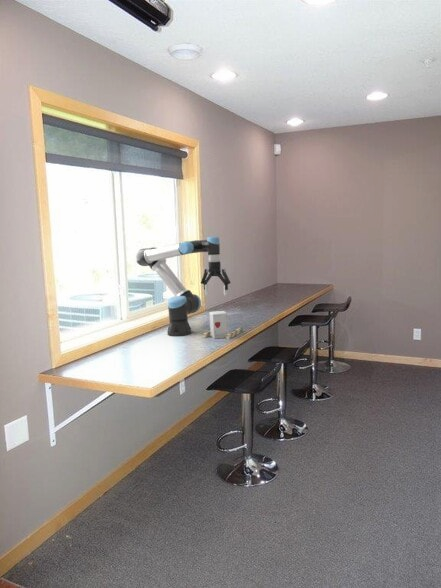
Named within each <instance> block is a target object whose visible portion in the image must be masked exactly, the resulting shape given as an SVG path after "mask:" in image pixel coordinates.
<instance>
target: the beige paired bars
mask: <svg viewBox="0 0 441 588" xmlns="http://www.w3.org/2000/svg"><path fill="white" fill-rule="evenodd" d="M243 331H244V326H239V327H238V328H237V329H233V330H231V332H228V334H227V335H226V340H230V339H232V338H234V337H236V336H237V335H239V334H240V333H243ZM208 337H211V335H210V330H208V331H206V332H203V333H202V339H206V338H208Z"/></svg>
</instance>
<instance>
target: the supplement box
mask: <svg viewBox="0 0 441 588" xmlns="http://www.w3.org/2000/svg"><path fill="white" fill-rule="evenodd" d="M208 314H209V329H210V330H209V331H210V337H211V338H213V339H215V340H217V339H225V338H226V335H227V334H229V328H228V326H229V325H228V324H229V323H228V313H227V312H226V311H224V310H218V311H217V310H216V311H209V313H208Z"/></svg>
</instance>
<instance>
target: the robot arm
mask: <svg viewBox="0 0 441 588" xmlns="http://www.w3.org/2000/svg"><path fill="white" fill-rule="evenodd" d="M220 244H221V243H220V237H219V236H208V237H206V239H205V240H203V239H202V240H201V239H200V240H199V239H198V240H197V239H195V240H191V241H190V240H187V241H186V240H185V241H182V242H178V243H174V244H170V245H165V246H161V247H150V248H149V247H148V248H141V249H139V250H138V251H136V253H135V261H136V263H137V264H138V265H139V266H142V267H149V268H150V269H151V271H153V272H156V273H157V275H158V276H159V277H160V279H161V280H162V281H163V282H164V283H165V285H166V286H167V288H168V289H169V290H170V292H171V293H172V295H174V296H172V297H170V298H168V301H167V309H168V321H169V323H168V326H167V332H166V333H167V336H169V337H170V336H171V337H181V336H187V335H190V334H192V328H191V325H190V322H189V319H188V315H190V314H194V313H197V312H198V311H199V310H200V308H201V306H202V300H201V298H200V296H199V295H197V294H194V293H193V292H192V291H191V290H190V289H187V288H186V287H185V286H184V285H183V283H182V282H181V281H180V279H179V278H178V277H177V276H176V274H175V273H174V272H173V271H172V269H171V268H170V266H168V264H167V259H170V258H171V259H172V258H174V257H180V256H183V255H189V254H196V253H207V256H208V259H207V261H208V263H207V264H208V268H205V269H204V272H203V275H202V277H201V280H200V283H201V284H202V285H203V290H204V295H205V296H208V295H209V284H208V282H210V280H211V278H212V277H217V278H219V279H220V280H221V282H222V283H223V296H224V297H225V296H228V290H229V285H230V284H231V281H230V278H229V276H228V274H227V273H226V269H225V268H223V269H221V253H220V252H221V249H220V247H221V246H220ZM208 273H209V274H208Z"/></svg>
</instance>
